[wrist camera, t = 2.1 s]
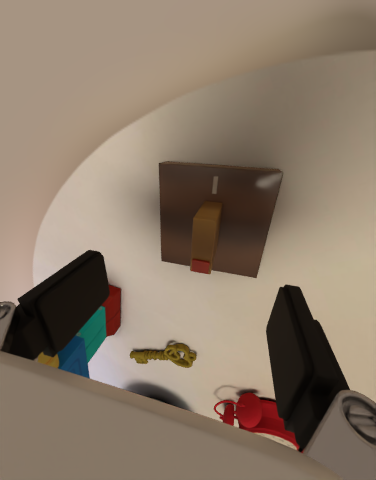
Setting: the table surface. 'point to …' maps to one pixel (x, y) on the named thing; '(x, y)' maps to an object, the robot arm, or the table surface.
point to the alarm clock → (258, 419)
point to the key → (167, 355)
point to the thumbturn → (205, 236)
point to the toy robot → (88, 337)
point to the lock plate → (232, 216)
